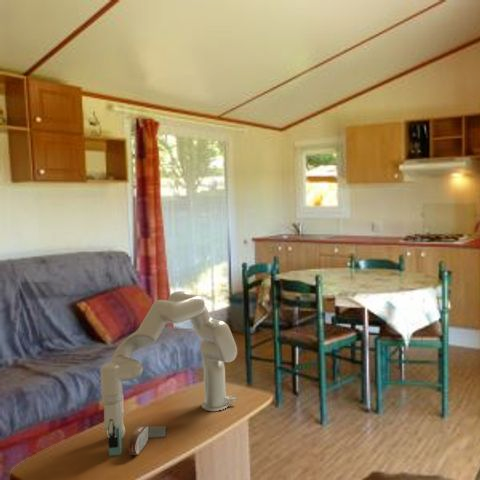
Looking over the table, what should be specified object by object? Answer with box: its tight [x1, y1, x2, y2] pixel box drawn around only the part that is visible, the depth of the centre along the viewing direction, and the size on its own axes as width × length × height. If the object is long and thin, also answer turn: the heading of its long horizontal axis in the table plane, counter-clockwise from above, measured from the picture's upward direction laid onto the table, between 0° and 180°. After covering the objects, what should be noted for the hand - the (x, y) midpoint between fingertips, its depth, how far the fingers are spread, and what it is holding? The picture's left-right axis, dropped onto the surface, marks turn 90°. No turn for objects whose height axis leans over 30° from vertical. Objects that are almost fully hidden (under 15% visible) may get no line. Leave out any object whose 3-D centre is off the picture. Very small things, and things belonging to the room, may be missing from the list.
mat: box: [148, 425, 167, 440], centre depth 214 cm, size 12×9×1 cm
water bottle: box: [106, 399, 126, 441], centre depth 209 cm, size 7×7×25 cm
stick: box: [107, 422, 123, 456], centre depth 198 cm, size 4×4×14 cm
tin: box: [128, 423, 150, 456], centre depth 200 cm, size 15×3×8 cm, turn 169°
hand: (115, 442), depth 198 cm, fingers open, 6 cm apart
